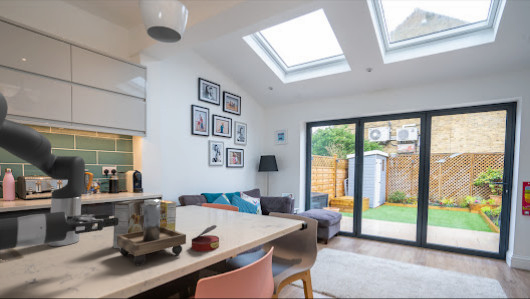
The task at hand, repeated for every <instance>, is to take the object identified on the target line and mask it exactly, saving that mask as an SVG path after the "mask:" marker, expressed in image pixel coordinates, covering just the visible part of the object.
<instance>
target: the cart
mask: <svg viewBox="0 0 530 299" xmlns="http://www.w3.org/2000/svg"><path fill="white" fill-rule="evenodd" d="M186 244H187V234H185V233H183V232H180V231H177V230H176V229H175V230H172V229H169V228H166V227H160V239H159V240H155V241H150V242H144V241H143V231H138V232H133V233H127V234H122V235H117V245H118V246H120V247H121V248H119V253H120V254H121V255H122V256H127V255H129V254H131V255H133V256H134V257H133V262H134V263H135V265H138V266H139V265H140V266H141V265H142V264H144V263H145V261H146V258H147V257H146V255H147V254H150V253H154V252H158V251H161V250H166V249H169V248H172V249H171V251H172V253H173V254H174V255H180V254H181V253H182V252H183V246H182V245H186Z"/></svg>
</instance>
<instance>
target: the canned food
mask: <svg viewBox="0 0 530 299" xmlns="http://www.w3.org/2000/svg"><path fill="white" fill-rule="evenodd" d="M215 229H217V225H216V224H214V225H213V224H212V225H211V226H208V227H207V228H205V229H204V230H203V231H202V232H201V233H200V234H198V235H197V236H196V237H193V238H191V250H192V251H195V252H209V251H210V252H211V251H214V250H217V249H219V247H220V237H218V236H217V235H207V233H210V232H211V231H213V230H215Z"/></svg>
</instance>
